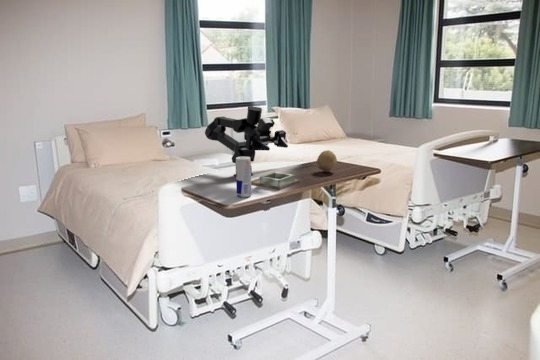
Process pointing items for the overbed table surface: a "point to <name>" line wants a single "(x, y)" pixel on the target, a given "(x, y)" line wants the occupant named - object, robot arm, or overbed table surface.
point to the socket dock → (275, 180)
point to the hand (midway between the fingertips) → (278, 147)
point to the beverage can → (243, 176)
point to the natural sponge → (326, 161)
